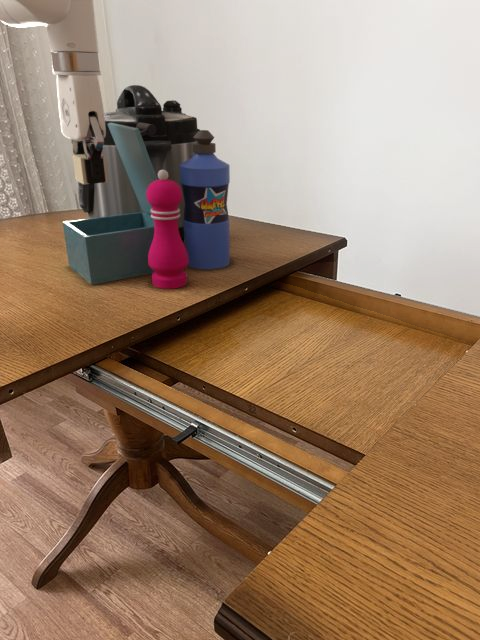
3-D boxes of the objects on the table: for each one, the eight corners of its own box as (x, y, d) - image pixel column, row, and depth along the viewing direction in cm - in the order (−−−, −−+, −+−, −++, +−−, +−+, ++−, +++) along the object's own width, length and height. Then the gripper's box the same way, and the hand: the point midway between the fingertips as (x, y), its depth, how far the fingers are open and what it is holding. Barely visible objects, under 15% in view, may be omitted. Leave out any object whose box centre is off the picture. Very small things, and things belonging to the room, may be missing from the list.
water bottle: (237, 265, 109) (237, 132, 98) (194, 272, 105) (188, 134, 94) (219, 253, 117) (217, 127, 105) (178, 258, 113) (171, 128, 101)
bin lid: (134, 130, 92) (161, 118, 94) (107, 124, 101) (132, 113, 103) (169, 223, 102) (193, 210, 104) (141, 210, 111) (164, 199, 113)
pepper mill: (195, 278, 102) (191, 167, 93) (180, 292, 96) (173, 174, 87) (160, 274, 104) (152, 165, 94) (142, 287, 97) (132, 171, 88)
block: (83, 184, 95) (80, 158, 93) (75, 180, 98) (71, 154, 96) (108, 182, 97) (105, 156, 95) (99, 178, 100) (96, 153, 98)
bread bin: (91, 285, 98) (84, 237, 94) (69, 266, 107) (62, 221, 103) (174, 269, 107) (171, 224, 103) (147, 252, 116) (143, 211, 112)
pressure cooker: (118, 213, 147) (104, 82, 132) (219, 220, 142) (217, 85, 127) (60, 244, 120) (34, 85, 106) (181, 253, 116) (172, 88, 101)
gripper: (38, 64, 93) (55, 175, 101) (70, 65, 81) (86, 190, 89) (81, 65, 97) (95, 171, 105) (118, 66, 85) (129, 186, 93)
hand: (91, 179), depth 97 cm, fingers closed on block, 4 cm apart
